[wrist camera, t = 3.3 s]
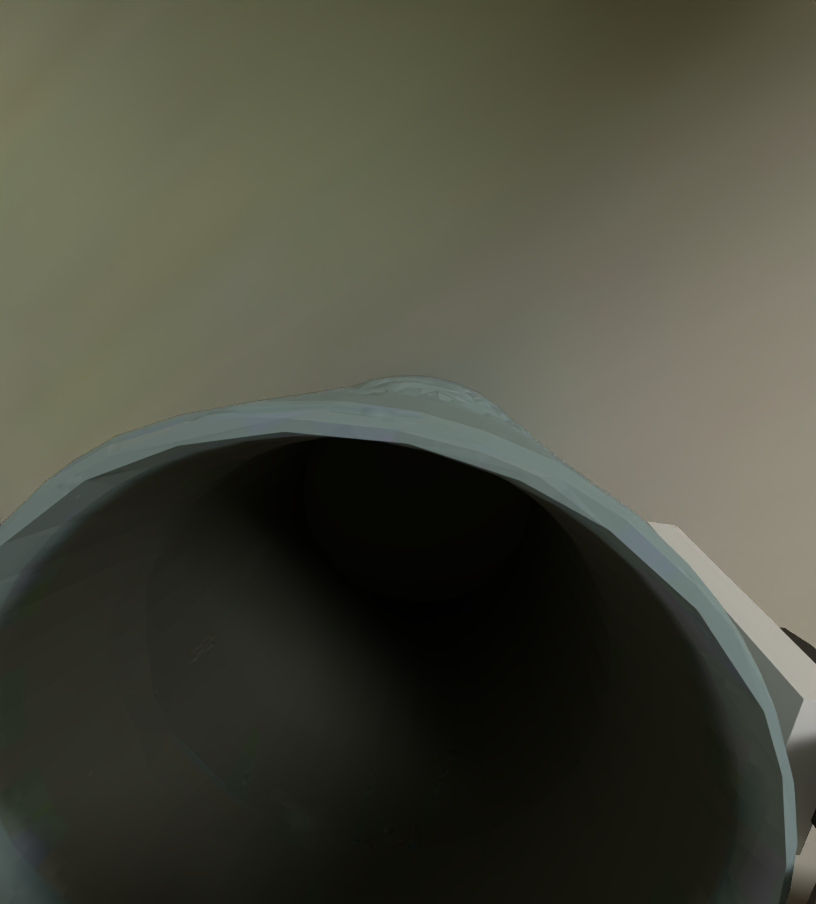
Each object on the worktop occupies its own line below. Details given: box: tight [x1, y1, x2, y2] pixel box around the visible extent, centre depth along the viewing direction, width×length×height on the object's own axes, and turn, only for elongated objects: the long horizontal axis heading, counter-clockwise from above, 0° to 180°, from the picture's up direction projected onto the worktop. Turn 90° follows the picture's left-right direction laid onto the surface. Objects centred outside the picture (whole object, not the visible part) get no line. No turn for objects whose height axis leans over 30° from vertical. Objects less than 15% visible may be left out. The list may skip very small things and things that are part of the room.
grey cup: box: [0, 376, 797, 904], centre depth 12 cm, size 10×10×12 cm
